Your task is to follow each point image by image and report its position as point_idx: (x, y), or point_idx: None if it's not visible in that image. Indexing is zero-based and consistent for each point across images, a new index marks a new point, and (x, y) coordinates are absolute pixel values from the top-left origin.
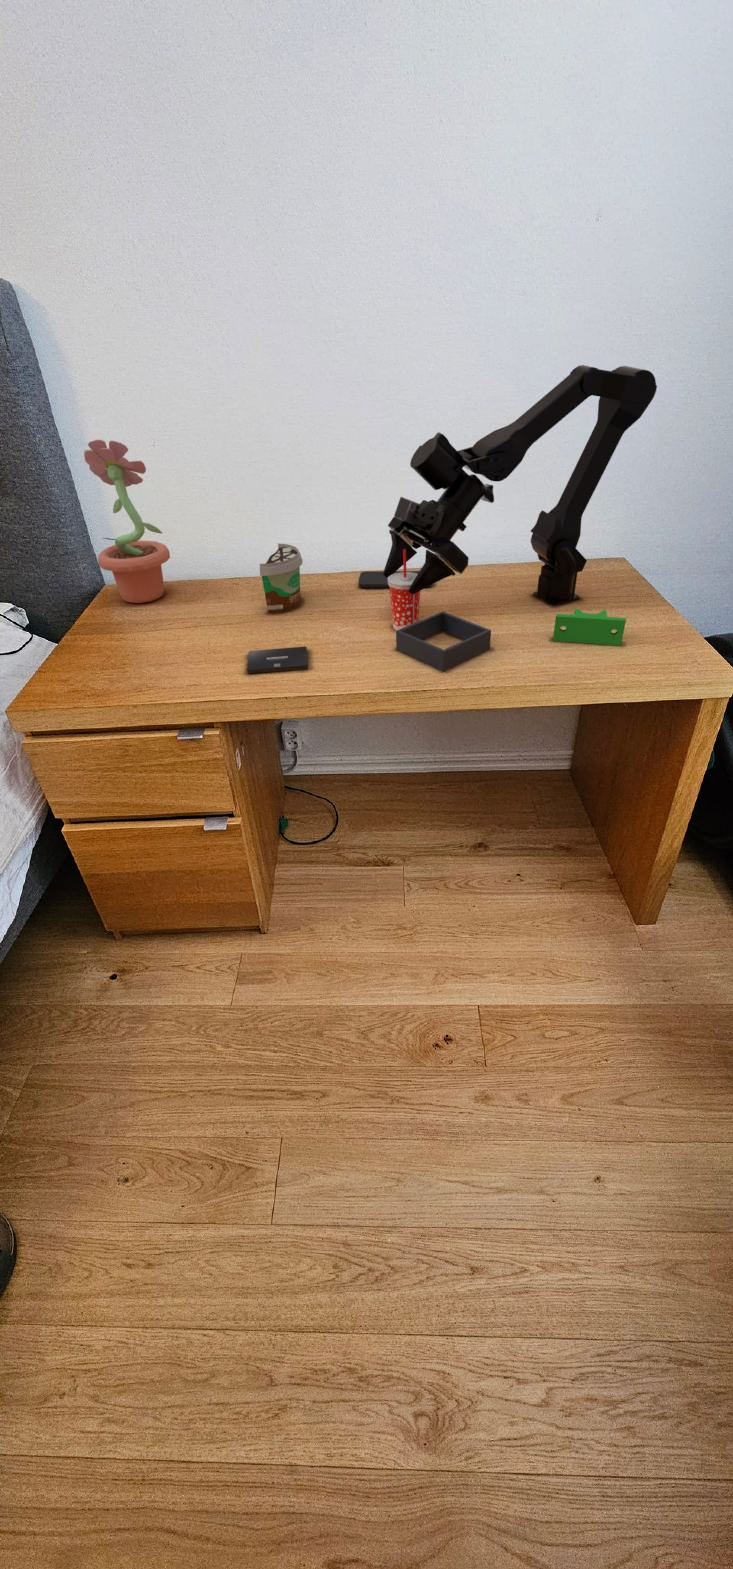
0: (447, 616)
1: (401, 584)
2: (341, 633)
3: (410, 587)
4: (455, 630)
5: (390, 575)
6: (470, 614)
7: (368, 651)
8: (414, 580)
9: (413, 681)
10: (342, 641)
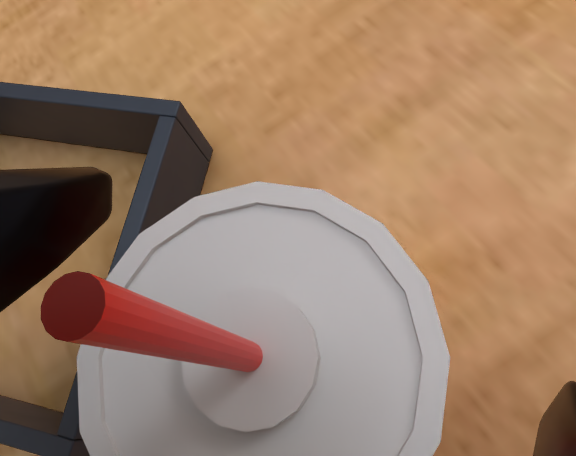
0: (27, 425)
1: (195, 205)
2: (547, 129)
3: (77, 175)
4: (14, 405)
5: (443, 345)
6: None
7: (308, 76)
8: (12, 182)
9: (45, 18)
10: (474, 75)
